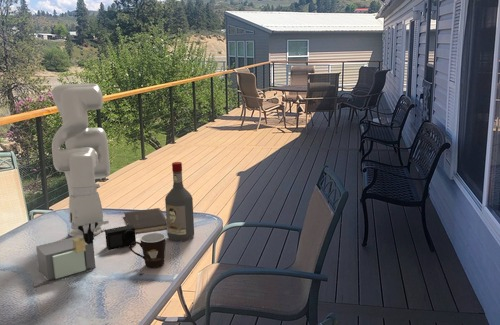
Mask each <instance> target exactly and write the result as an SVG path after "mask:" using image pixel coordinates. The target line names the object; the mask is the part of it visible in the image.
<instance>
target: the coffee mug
mask: <svg viewBox="0 0 500 325" xmlns="http://www.w3.org/2000/svg"><path fill="white" fill-rule="evenodd" d="M166 238H167V237H166V235H165V234H164V233H162V232H150V233H146V234H143V235H142V236H141V237H140V239H139V240H140V241H139V242H138V241H136V242H133V243H131V245H130V246H129V250H130V251H131V252H132V253H133V254H135V255H136V256H138V257H139V258H142V259H143V260H144V264H145V267H146V268H148V269H159V268H161V267H164V266H165V258H166V254H165V253H166ZM133 244H136V245H139V246H140V248H141V250H142V254H139V253H137V252H135V250H133V248H132V245H133ZM133 246H134V245H133Z"/></svg>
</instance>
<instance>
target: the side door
mask: <svg viewBox="0 0 500 325" xmlns="http://www.w3.org/2000/svg"><path fill="white" fill-rule="evenodd" d="M72 241H73V251H69V252H66V253H62V254H58V255H54V256H52V258H53V267H54V275H55V278H56V279H57V278H61V277H64V276H68V275H71V274H74V273H78V272H81V271H85V270H86V267H85V257H84V251H86V249H85V239H83V238H82V237H79V238H75V239H72Z"/></svg>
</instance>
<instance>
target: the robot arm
mask: <svg viewBox="0 0 500 325" xmlns="http://www.w3.org/2000/svg"><path fill="white" fill-rule="evenodd" d="M51 95H52V99H53V102H54V104H55V106H56V109H57V111H58V112H59V114H60V117H61V119H62V125H61V126H60V128H59V129H57V130H56V132H55V134H54V136H53V137H52V141H51V153H52V164H53V167H54V169H55V170H56V171H58V172H60V173H61V172H62V173H64V175H65V179H66V184H67V188H68V189H67V190H68V197H69V198H68V220H69V222H70V230H69V231H68V235H69V236H70V238H72V237H76V236H80V235H83V238H84V239H85V242H86V243H87V244H90V243H91V244H92V243H93V244H94V240H95V236H97V235H99V234H101V232H102V226H105V225H109V219H103V218H104V214H103V213H104V212H103V207H102V206H103V205H102V202H101V197H100V193H99V192H98V191H97V190H98V188H101V187H100V183H96V180H97V179H99V180H100V179H105V178H108V177H109V176H110V174H111V162H110V152H109V143H108V142H109V141H108V135H107V133H106V131H105V130H104V128H102V127H89V125H90V123H89V114H88V111H92V110H93V111H95V110H101V109H102V108H103V105H104V95H103V92H102V90H101V88H100V86H99V85H98V84H97V83H93V82H92V83H90V82H89V83H67V84H60V85H56V86H54V87H53V88H52V92H51ZM64 143H65V148H62V149H61V146H62V145H63V144H64Z"/></svg>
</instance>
